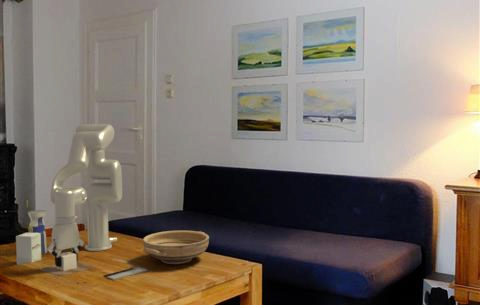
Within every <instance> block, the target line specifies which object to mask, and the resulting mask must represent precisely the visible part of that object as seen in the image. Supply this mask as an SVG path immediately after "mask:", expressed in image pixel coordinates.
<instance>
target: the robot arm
mask: <svg viewBox="0 0 480 305" xmlns="http://www.w3.org/2000/svg"><path fill="white" fill-rule="evenodd" d="M114 138H115V129H114V127H113V126H112V124H109V123H99V124H98V123H89V124H87V123H86V124H83V123H82V124H79V125H78V126H76V128H75V133H74V134H73V136H72V138H71V144H70V150H69V154H68V159H67V163H66V164H65V165H63V167H62V168H61V169H60V170H58V172H57V173H56V174H55V175H54V178H53V179H52V183H51V184H52V185H51V188H50V201H51V203H52V204H54V218H55V219H54V220H55V221H54V222H55V224H52V225H53V226H52V230H51V243H50V245H49V246H47V252H49V253H50V254H51V255H52V256H53V257H54V265H56V266H58V267H61V257H60V254H62V251H63V250H68V249H71V251H72V252H71V253H74V254H76V261H77V262H78V260H79V258H78V256H79V255H78V254H79V252H80V250H81V249H82V247H83V246H84V250H85V251H89V252H98V251H99V252H100V251H105V250H106V251H107V250H110V249H112V247H113V244H112V242H113V243H114V242H117V241H118V238H117V237H116V236H114V237H110V236H109V216H108V215H109V211H108V208H107V206H105V205H106V204H104V203H119V202H120V201H121V200H122V198H123V176H122V175H123V174H122V173H123V172H122V165H121V163H120V161H119V160H117V159H106V157H105V156H106V155H105V154H106V153H105V150H106V149H107V148H108V147H109V145H110V144H111V143H112V142H113V140H114ZM85 170H86V175H87V177H88V179H90V180H96V181H95V182H94V181H93V182H90V183H87V185H86V184H85V186H84V187H82V186H63V185H64V183H65V181H67V179H69V178H70V177H73V176H74V175H76V174H79V173H81V172H83V171H85ZM97 180H98V181H97ZM100 180H106V181H110V182H106V181H100ZM85 202H86V215H87V216H86V218H87V244H85V241H84V240H83V239H81V238H80V233H79V227H78V223H77V222H76V220H78V218H79V217H78V215H76V208H75V206H80V205H83V204H84V203H85ZM84 244H85V245H84Z"/></svg>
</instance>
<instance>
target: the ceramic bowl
mask: <svg viewBox="0 0 480 305" xmlns="http://www.w3.org/2000/svg"><path fill="white" fill-rule="evenodd" d="M209 240H210V236H209V235H208V234H207V233H205V232H203V231H195V230H167V231H160V232H155V233H151V234H148V235H146V236H145V237H143V239H142V241H143V249H142V251H143V253H145V254H148V255H149V256H151V257H153V258H155V259H158V260H160V261H161V262H162V263H164V264H168V265H182V264H187V263H191V261H192V259H194V258H196V257H198V256H200V255H202V254H203V253H204V252H205V251H206V250H207V249H208V246H209V242H210V241H209Z"/></svg>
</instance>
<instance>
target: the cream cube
mask: <svg viewBox="0 0 480 305" xmlns="http://www.w3.org/2000/svg"><path fill="white" fill-rule="evenodd" d="M60 257H61V267H58V266H57V269H60V270H63V271H66V270H70V269H74V268H77V262H78V260H77V261H76V254H74V253H72V252H70V251H67V252H63V253H62V252H61V254H60Z"/></svg>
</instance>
